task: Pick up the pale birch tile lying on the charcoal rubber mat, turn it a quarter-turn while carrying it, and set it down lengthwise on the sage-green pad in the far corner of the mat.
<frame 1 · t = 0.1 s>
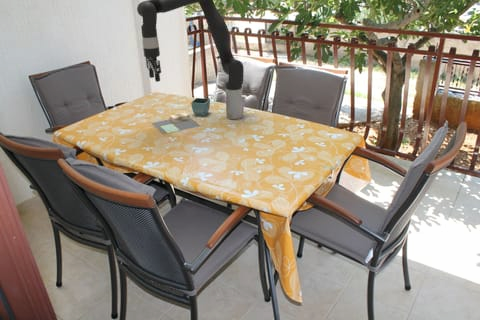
hand: (154, 79, 202), 29 cm above the table, fingers open, 8 cm apart
mat: (175, 125, 224), on the table
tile: (180, 120, 230), point 1 cm above the table, touching mat
flower pot: (201, 115, 238), on the table
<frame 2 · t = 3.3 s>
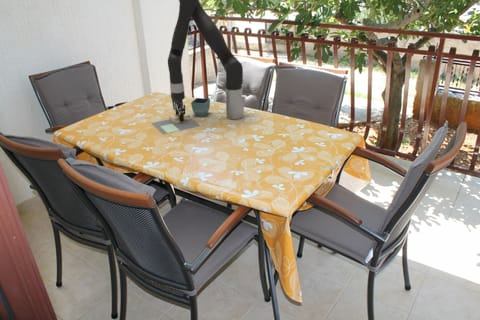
hand: (179, 119, 229), 1 cm above the table, fingers closed on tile, 5 cm apart
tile: (180, 120, 230), point 1 cm above the table, touching gripper, mat
everything else where it was.
when the fingers open (2 cm above the table, at t = 9.8 s): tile stays where it is, resting on mat.
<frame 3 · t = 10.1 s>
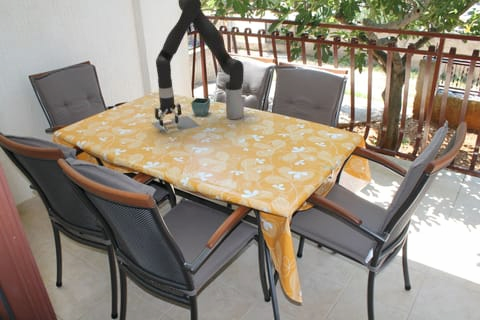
hand: (169, 124, 218), 3 cm above the table, fingers open, 8 cm apart
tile: (169, 128, 219), point 1 cm above the table, touching mat
everything else where it was.
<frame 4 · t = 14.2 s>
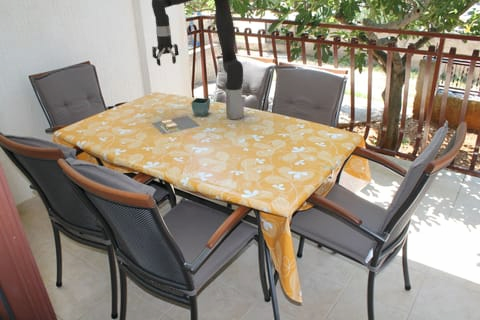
hand: (166, 64, 225), 30 cm above the table, fingers open, 8 cm apart
nothing on the table moved.
at the end: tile 0.0 cm from the target spot on the mat, point 0.8 cm above the mat's base; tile tilted 0°; the gripper is holding nothing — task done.
